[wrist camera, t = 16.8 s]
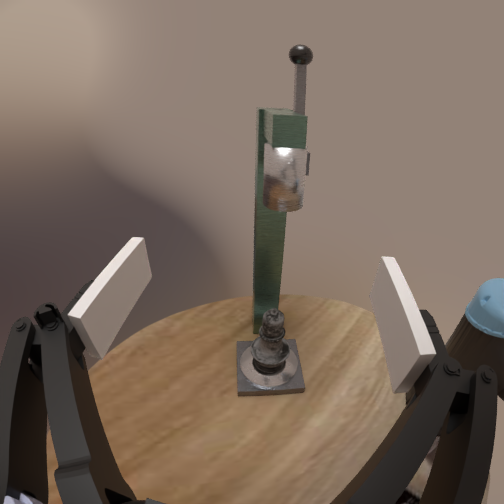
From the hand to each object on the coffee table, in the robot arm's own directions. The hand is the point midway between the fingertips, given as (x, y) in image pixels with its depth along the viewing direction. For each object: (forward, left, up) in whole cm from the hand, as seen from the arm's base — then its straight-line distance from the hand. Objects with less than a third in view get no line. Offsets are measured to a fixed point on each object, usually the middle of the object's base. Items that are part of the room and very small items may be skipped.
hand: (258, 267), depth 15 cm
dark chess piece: (-3, -14, -28) cm, 32 cm away
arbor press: (-3, -17, -30) cm, 35 cm away
